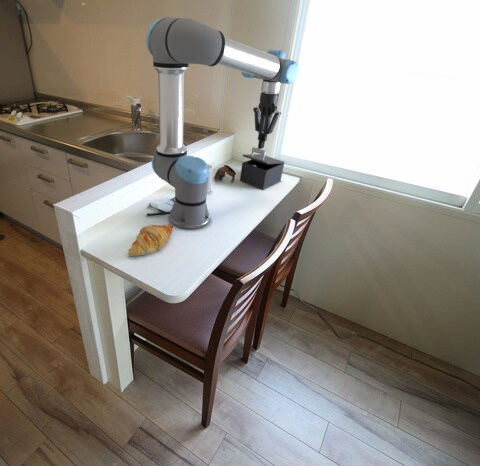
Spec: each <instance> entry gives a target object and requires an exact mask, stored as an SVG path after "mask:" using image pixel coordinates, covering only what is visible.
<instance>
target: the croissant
mask: <svg viewBox="0 0 480 466" xmlns="http://www.w3.org/2000/svg"><path fill="white" fill-rule="evenodd" d="M173 231H174V224H172V223H168V224H162V225H160V224H148V225H146V226H143V227H142V228H141V229H140V230H139V232H138V234H137V235H136V238H135V241H133V242H132V243H131V247H130V248H129V249H128V252H127V255H128V256H130V257H138V256H144V255H148V254H152V253H155V252H159V251H161V249H162V248H163V247H164V246H166V244H167V242H168V241H169V239H170V237H171V236H172V234H173Z"/></svg>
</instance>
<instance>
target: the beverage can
mask: <svg viewBox="0 0 480 466" xmlns="http://www.w3.org/2000/svg"><path fill="white" fill-rule="evenodd" d="M207 165H208V173H209V177H208V185H207V194H209V193H211V192H212V181H213V173H214V169H213V166H212V165H211V164H208V163H207Z"/></svg>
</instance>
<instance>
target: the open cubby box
mask: <svg viewBox="0 0 480 466" xmlns="http://www.w3.org/2000/svg"><path fill="white" fill-rule="evenodd" d="M252 165H256V167H255V166H252ZM284 167H285V162H284V163H282V164H264V163H261V162H258V161H255V160H252V159H249V160H246V161H243V162H242V164H241V170H240V176H239V182H242V183H245V184H246V185H250V186H252V187H254V188H257V189H259V190H266V189H268V188H270V187H272V186H274V185H276V184H278V183H280V182H281V180H282V175H283V172H284Z"/></svg>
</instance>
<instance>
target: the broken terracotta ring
mask: <svg viewBox="0 0 480 466" xmlns="http://www.w3.org/2000/svg"><path fill="white" fill-rule="evenodd" d="M226 175H228V176H229V177H231V179H230V180H231V181H230V182H231V183H233V182H234V181H235V179H236V175H237V172H236V170H235V169H233V168H232V167H230V165H227V164H224V165H223V166H221V167H219V168H218V169H217V170H216V172H215V174H214V177H213V178H214V181H215V182H217V181H218V182H222V181H223V180H224V177H225V176H226Z"/></svg>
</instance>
